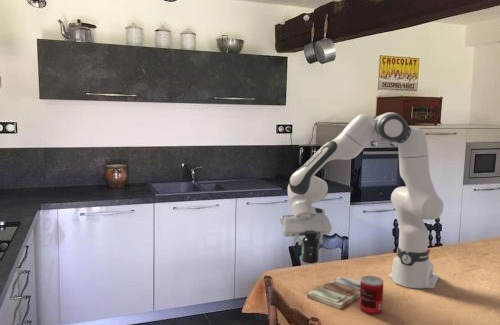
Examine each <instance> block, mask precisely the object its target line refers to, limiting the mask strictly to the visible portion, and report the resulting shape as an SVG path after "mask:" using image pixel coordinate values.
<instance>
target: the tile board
mask: <svg viewBox="0 0 500 325" xmlns="http://www.w3.org/2000/svg"><path fill="white" fill-rule="evenodd" d="M360 286H361V281H359V280H356V279H351V278H348V277H345V276H338V277H336V278H334V279H331V281H329V282H327V283H325V284H323V285H320V286H318V287H317V288H314V289H312V290H310V291H309V292H307V293H306V298H309V299H312V300H314V301H316V302H319V303H322V304H326V305H328V306H330V307H333V308H336V309H338V310H341V309H342V308H344V307H345V306H347V305H348V304H351V303H352V302H353V301H355V300H357V299H360Z"/></svg>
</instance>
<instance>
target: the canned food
mask: <svg viewBox="0 0 500 325" xmlns="http://www.w3.org/2000/svg"><path fill="white" fill-rule="evenodd" d="M360 282H361V286H360V297H359V309H360V311H361V312H363V313H365V314H367V315H379V314H381V312H382V309H383V295H384V294H383V293H384V280H383V279H382V278H381V277H378V276H375V275H364V276H361V278H360Z"/></svg>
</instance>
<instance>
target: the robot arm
mask: <svg viewBox="0 0 500 325" xmlns="http://www.w3.org/2000/svg"><path fill="white" fill-rule="evenodd" d="M377 137H379V138H381V139H383V140H385V141H387V142H390V143H391V142H392V143H396V144H397V148H398V163H399V164H398V165H399V166H398V167H399V175H400V178H401V179H402V180H403V182H404V184H405V186H397V187H396V188H395V189H394V190H393V191H392V193H391V195H390V202H391V204H392V206H393V208H394V209H395V212H396V218H397V221H398V231H399V235H398V246H397V249H396V256H395V257H394V258H393V262H392V269H391V272H390V273H388V274H387V275H388V277H389V278H390V279H391V280H392V281H393V282H394V283H395V284H397V285H399V286H401V287H404V288H405V287H406V288H410V289H435V287H436V285H437V283H438V280H439V278H440V277H439V275H438V274H437V273H435V272H434V264H433V262H431V260H430V259H429V258H430V257H429V256H430V255H429V254H430V253H431V248H428V245H429V244H428V243H429V231H428V228H427V227H426V225H425V223H424V220H426V221H427V220H428V221H429V220H430V221H433V220H437V219H438V218H440V217H441V215H442V213H443V212H444V209H445V208H444V202H443V199H441V197H440V196H439V195H438V193H437V191H436V189H435V186H434V184H433V181H432V178H431V174H430V160H429V150H428V140H427V137H426V134H425V132H424V130H423V129H421V128H419V127H413V126H412V127H410V125H409V124H408V123H407V120H405V118H404V117H403V116H401V115H400V114H399V113H396V112H392V111H391V112H383V113H380V114H378V115H377V116H373V117H371V116H370V115H368V114H365V113H360V114H358V115H357V116H355V117H354V118H353V119H352V120H351V121H350V122H348V124H347V125H346V126H345V127H344V129H343V130H342V131H341V132H340V133H339V134H338V135H337V136H336V137H335V138H334V139H332V140H331V141H330V140H329V141H327V142H326V143H324V144H323V145H322V146H321V147H320V148H319V149H318V150H316V152H315V153H314V154H313V155H312V156H311V157H310V158H309V159H308V160H307V161H306V162H305V163H304V164H302V166H300V167H299V168H297V169H296V170H295V171H293V172H292V173H291V175H290V177H289V180H288V185H287V198H288V201H289V204H290V206H291V213H292V214H284V215H282V216H281V217H280V223H281V225H282V234H283V236H284V237H285V238H289V237H294V239H295V241H296V242H297V244H298V246H302V245H303V240H302V239H301V238H300V237H305V231H312V230H313V231H316V232H317V237H318V240H319V245H322V244H323V242H324V241H323V238H324V235H330V233H331V232H332V229H333V228H332V227H333V226H332V224H331V222H330V219H329V217H328V216H327V215H325V214H326V210H325V209H324V208H321V207H317V206H313V204H316V203H319V202H320V201H322V200H324V199H325V198H326V196H328V193H329V186H328V183H327V181H325V180H324V179H322V178H321V177H318V176H316V174H317V173H318V172H319V171H320V170H321V169H322V168H323V167H324V166H325V165H326V164H327V163H329V162H330V161H333V160H346V161H347V160H353V159H355V158H356V157H357V156H359V155H360V154H361V152H362V151H363V150H364V149H365V148H366V146H367V145H368V144H369V142H370V141H371V140H373V139H374V138H377Z"/></svg>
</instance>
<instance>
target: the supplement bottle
mask: <svg viewBox="0 0 500 325" xmlns="http://www.w3.org/2000/svg"><path fill="white" fill-rule="evenodd" d="M318 239H319V237H318V235H317V232H316V231H313V230H312V231H305V236H303V237H302V239H301V240H303V245H301V261H302V262H304V263H306V264H317V263H318V262H319V260H320V244H319V240H318Z"/></svg>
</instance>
